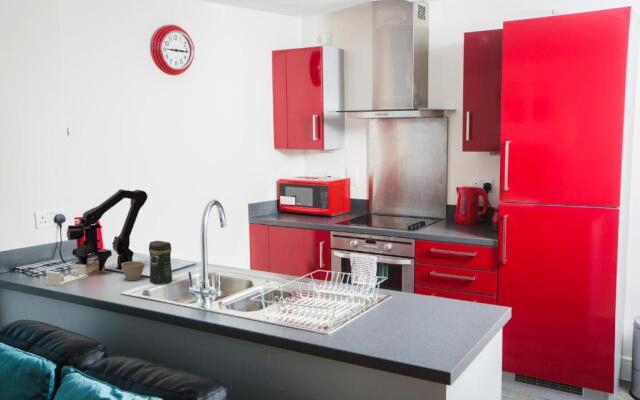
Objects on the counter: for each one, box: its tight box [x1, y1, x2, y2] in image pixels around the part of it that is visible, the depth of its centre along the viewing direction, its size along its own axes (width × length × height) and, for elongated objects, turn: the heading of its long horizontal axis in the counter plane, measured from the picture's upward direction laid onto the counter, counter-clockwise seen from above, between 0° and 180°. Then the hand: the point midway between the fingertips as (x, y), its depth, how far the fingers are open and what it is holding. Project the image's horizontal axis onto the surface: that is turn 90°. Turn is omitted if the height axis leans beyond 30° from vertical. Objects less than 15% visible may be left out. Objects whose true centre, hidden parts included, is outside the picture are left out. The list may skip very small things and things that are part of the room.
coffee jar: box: [148, 240, 173, 285], centre depth 268 cm, size 10×8×19 cm
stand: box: [45, 263, 89, 287], centre depth 271 cm, size 8×17×6 cm, turn 159°
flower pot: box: [121, 260, 145, 281], centre depth 274 cm, size 10×10×7 cm
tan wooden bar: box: [86, 260, 106, 277], centre depth 286 cm, size 4×12×4 cm, turn 159°
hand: (92, 270), depth 287 cm, fingers open, 9 cm apart
